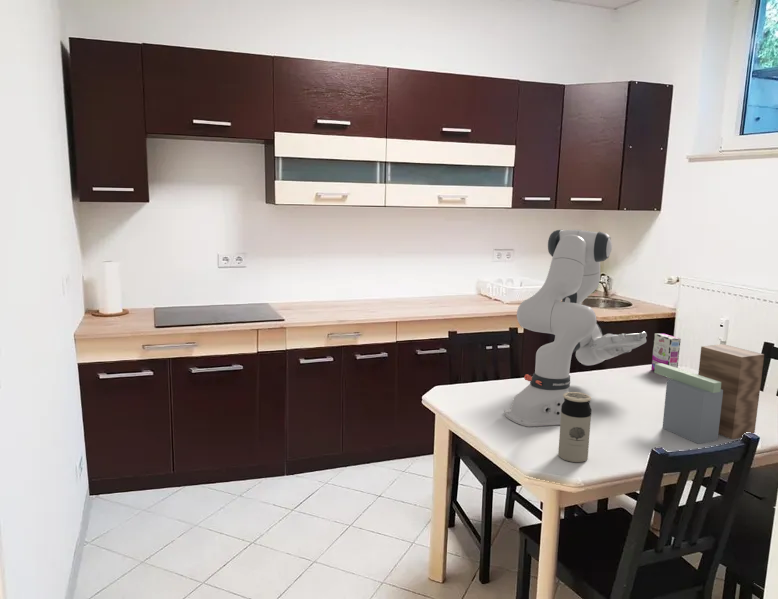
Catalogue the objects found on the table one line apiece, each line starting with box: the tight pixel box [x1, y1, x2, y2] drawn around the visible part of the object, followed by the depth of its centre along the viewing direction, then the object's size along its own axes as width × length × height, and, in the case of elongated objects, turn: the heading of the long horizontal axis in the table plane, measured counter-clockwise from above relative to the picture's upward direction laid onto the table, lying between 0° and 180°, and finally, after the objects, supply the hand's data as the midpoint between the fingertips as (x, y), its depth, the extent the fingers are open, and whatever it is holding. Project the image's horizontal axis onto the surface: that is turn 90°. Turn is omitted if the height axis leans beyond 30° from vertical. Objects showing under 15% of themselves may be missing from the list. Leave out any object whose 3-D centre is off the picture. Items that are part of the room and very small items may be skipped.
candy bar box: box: [650, 333, 682, 372], centre depth 250 cm, size 11×5×16 cm, turn 10°
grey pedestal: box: [661, 378, 723, 445], centre depth 184 cm, size 8×14×16 cm, turn 23°
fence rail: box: [653, 363, 721, 393], centre depth 185 cm, size 3×22×3 cm, turn 23°
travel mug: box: [557, 391, 592, 463], centre depth 165 cm, size 8×8×18 cm
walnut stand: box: [697, 343, 765, 440], centre depth 188 cm, size 10×14×26 cm
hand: (634, 334), depth 211 cm, fingers open, 8 cm apart
